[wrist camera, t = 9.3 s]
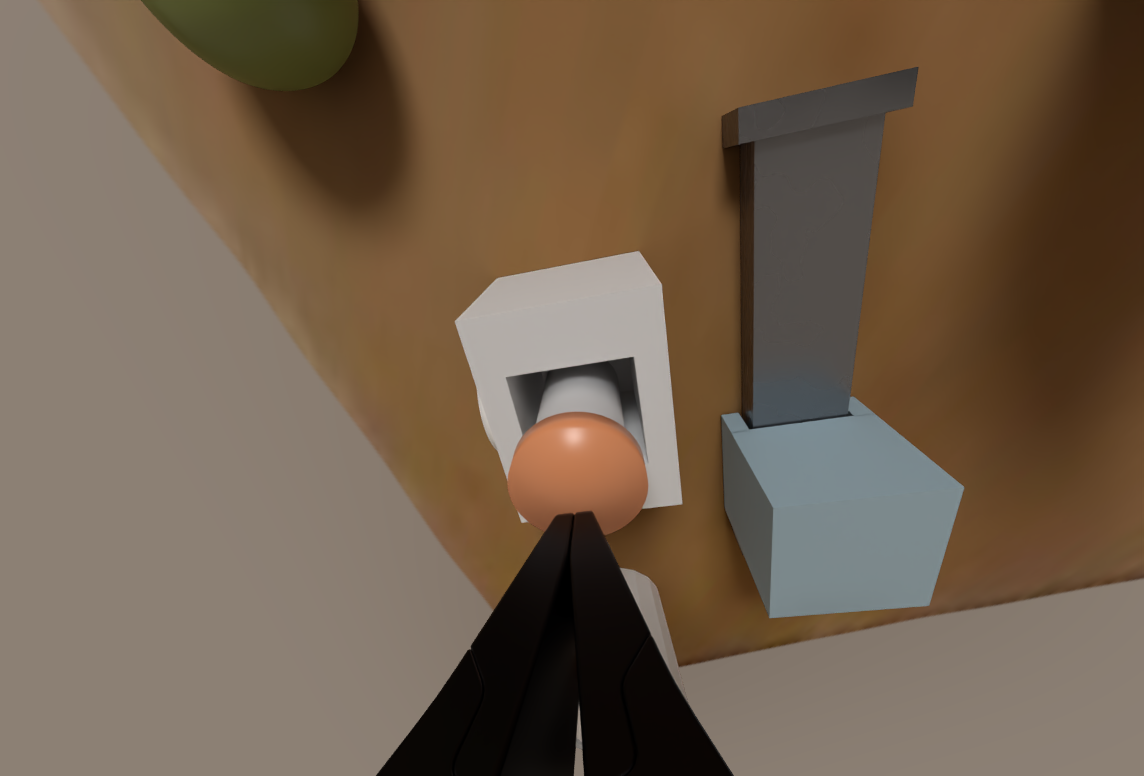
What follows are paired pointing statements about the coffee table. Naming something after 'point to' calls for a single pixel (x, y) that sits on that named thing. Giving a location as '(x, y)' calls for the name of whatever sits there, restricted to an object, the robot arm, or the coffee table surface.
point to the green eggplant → (265, 37)
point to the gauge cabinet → (576, 353)
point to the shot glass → (649, 626)
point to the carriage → (836, 513)
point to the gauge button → (579, 453)
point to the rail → (807, 241)
